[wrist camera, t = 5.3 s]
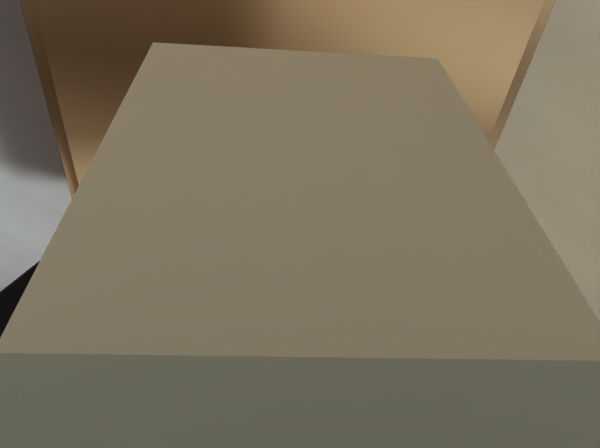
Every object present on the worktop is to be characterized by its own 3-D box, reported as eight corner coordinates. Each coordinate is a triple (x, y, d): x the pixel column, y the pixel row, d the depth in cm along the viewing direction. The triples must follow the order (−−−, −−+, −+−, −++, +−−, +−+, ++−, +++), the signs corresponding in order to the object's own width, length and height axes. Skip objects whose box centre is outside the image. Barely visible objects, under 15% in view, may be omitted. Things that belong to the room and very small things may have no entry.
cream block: (388, 259, 12) (475, 627, 7) (176, 253, 12) (91, 638, 6) (440, 56, 9) (698, 460, 3) (149, 39, 8) (-78, 462, 3)
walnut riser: (419, 198, 20) (446, 274, 17) (116, 182, 19) (84, 260, 16) (541, -182, 12) (634, -174, 9) (38, -245, 11) (-57, -262, 8)
